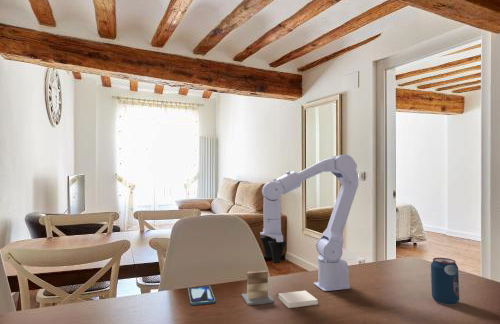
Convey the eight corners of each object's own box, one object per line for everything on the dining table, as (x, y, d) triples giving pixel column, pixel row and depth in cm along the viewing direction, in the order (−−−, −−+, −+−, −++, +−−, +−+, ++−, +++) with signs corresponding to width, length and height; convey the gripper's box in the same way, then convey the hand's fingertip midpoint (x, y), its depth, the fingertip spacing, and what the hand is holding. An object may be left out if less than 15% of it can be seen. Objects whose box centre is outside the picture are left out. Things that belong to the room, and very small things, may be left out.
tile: (305, 290, 104) (317, 299, 96) (305, 296, 104) (317, 305, 96) (278, 293, 102) (288, 303, 94) (278, 299, 101) (288, 309, 94)
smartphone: (210, 285, 113) (216, 300, 98) (210, 288, 112) (216, 304, 98) (187, 287, 111) (190, 303, 96) (187, 290, 111) (190, 306, 96)
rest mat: (266, 293, 106) (266, 291, 106) (274, 302, 98) (274, 300, 98) (241, 295, 104) (241, 293, 104) (247, 305, 96) (247, 303, 96)
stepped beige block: (266, 295, 102) (266, 270, 103) (267, 297, 101) (267, 271, 101) (247, 297, 101) (247, 271, 101) (248, 299, 99) (248, 273, 99)
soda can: (462, 307, 93) (461, 263, 93) (434, 304, 95) (433, 262, 96) (455, 298, 99) (454, 257, 100) (429, 296, 102) (428, 256, 102)
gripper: (254, 216, 116) (254, 256, 116) (267, 222, 102) (268, 267, 102) (273, 215, 118) (274, 254, 118) (289, 220, 104) (289, 265, 104)
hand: (272, 260), depth 110 cm, fingers open, 7 cm apart
